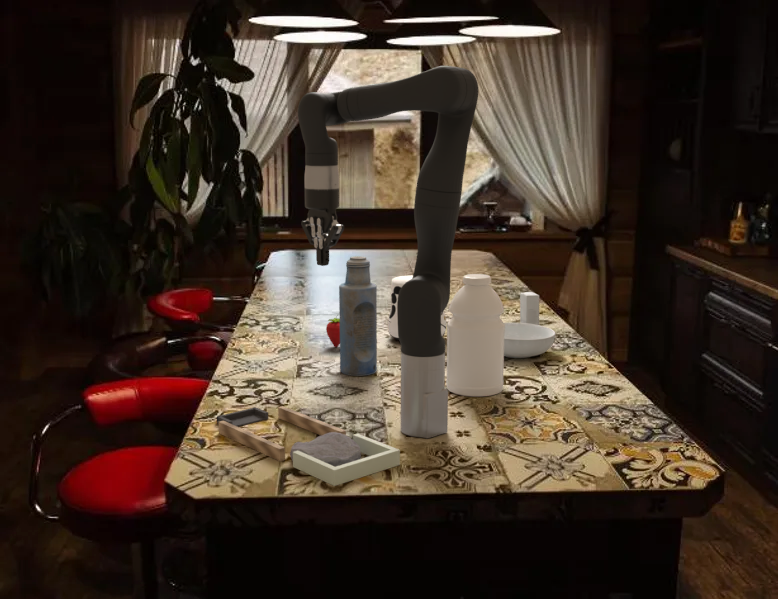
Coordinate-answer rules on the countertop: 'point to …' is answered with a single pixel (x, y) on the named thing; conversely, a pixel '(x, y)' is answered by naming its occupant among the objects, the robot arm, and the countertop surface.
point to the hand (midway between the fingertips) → (322, 265)
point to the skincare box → (529, 308)
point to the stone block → (330, 449)
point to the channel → (270, 447)
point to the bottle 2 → (475, 339)
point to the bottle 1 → (358, 319)
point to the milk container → (393, 318)
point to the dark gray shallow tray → (244, 417)
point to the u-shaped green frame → (377, 461)
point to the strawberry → (334, 331)
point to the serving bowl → (526, 340)
